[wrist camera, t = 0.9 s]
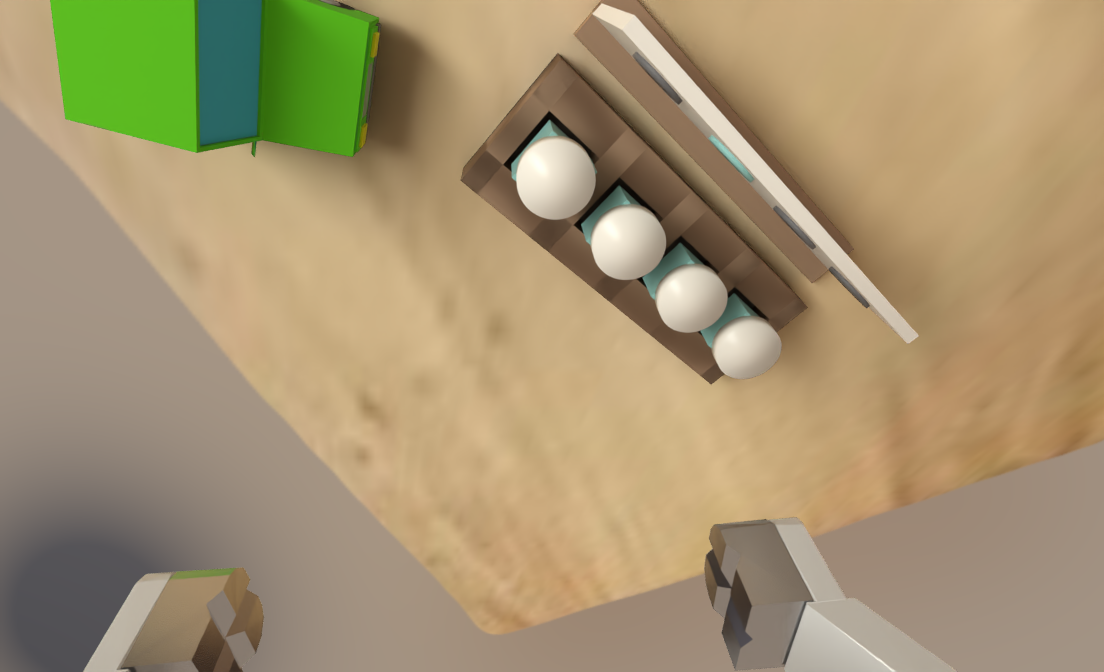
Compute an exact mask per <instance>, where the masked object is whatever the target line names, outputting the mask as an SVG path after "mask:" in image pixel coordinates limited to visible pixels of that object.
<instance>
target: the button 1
mask: <svg viewBox="0 0 1104 672" xmlns="http://www.w3.org/2000/svg"><path fill="white" fill-rule="evenodd" d="M511 165H512V178H513V179H514V180H515V181H516V182H517V190H518V193H519V196H520V198H521V200H522V202H523V203H524V205H525V206H526V207H527V208H528V209H529V210H530V211H531V212H533V213H534V214H536V215H538V216H540V217H542V218H546V219H552V220H559V219H565V218H568V217H571V216H573V215H575V214H577V213H578V212H579V211H581V210H582V209H583V208H584V207H585V206H586V205H587V204H588V202H589V201H590V199H591V197H592V195H593V192H594V189H595V182H596V177H595V174H596V173H597V170H596V168H595V166H594V164H593V161H592V159H591V158H590V157H589V156H588V154H587V152H586V151H585V149H584V148H583V147H582V146H581V145H580V144H579V143H577V142H576V141H574V140H572V139H570V138H569V137H568V136H566V135H565V134H564V133H563V132H562V131H561V130H560V129H559V128H558V127H557V126H556V125H555V124H554V123H553V122H552V121H551V120H549V121H548V122H547V123H546V125H545V126H544V127H543V128H542V129H541V130H540V132H539V133H538V134H537V135H536V136H535V137H534V138H533V140H532V141H531V142H530V143H529V144H528V145H527V147H526V148H525V149H524V150H523V151H522V152H521V154H520V155H519V156H518V157H517V158H516V159H515V161H514V162H513V163H512V164H511Z"/></svg>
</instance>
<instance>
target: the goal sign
mask: <svg viewBox="0 0 1104 672" xmlns="http://www.w3.org/2000/svg"><path fill="white" fill-rule="evenodd" d="M574 35H575V36H576V37H577V38H578V39H579V40H580V42H581V43H582V44H583V45H584V46H585V47H586V48H587V49H588V50H589V51H590V52H591V53H592V54H593V55H594V56H595V57H596V58H597V59H598V60H599V61H600V62H601V63H602V64H603V66H604V67H605V68H606V69H607V70H608V71H609V72H610V73H611V74H612V75H613V76H614V77H615V78H616V79H617V80H618V81H619V82H620V83H621V84H622V85H623V86H624V87H625V89H626V90H627V91H628V92H629V93H630V94H631V95H632V96H633V97H634V98H635V99H636V100H637V101H638V102H639V103H640V104H641V105H642V106H643V107H644V108H645V109H646V110H647V111H648V113H649V114H650V115H651V116H652V117H653V118H654V119H655V120H656V121H657V122H658V123H659V124H660V125H661V126H662V127H663V128H664V129H665V130H666V131H667V132H668V133H669V134H670V135H671V137H672V138H673V139H674V140H675V141H676V142H677V143H678V144H679V145H680V146H681V147H682V148H683V149H684V150H685V151H686V152H687V153H688V154H689V155H690V156H691V157H692V158H693V159H694V161H695V162H696V163H697V164H698V165H699V166H700V167H701V168H702V169H703V170H704V171H705V172H706V173H707V174H708V175H709V176H710V177H711V178H712V179H713V180H714V181H715V182H716V183H717V185H718V186H719V187H720V188H721V189H722V190H723V191H724V192H725V193H726V194H727V195H728V196H729V197H730V198H731V199H732V200H733V201H734V202H735V203H736V204H737V205H738V206H739V207H740V209H741V210H742V211H743V212H744V213H745V214H746V215H747V216H748V217H749V218H750V219H751V220H752V221H753V222H754V223H755V224H756V225H757V226H758V227H759V228H760V229H761V230H762V231H763V233H764V234H765V235H766V236H767V237H768V238H769V239H770V240H771V241H772V242H773V243H774V244H775V245H776V246H777V247H778V248H779V249H780V250H781V251H782V252H783V253H784V254H785V255H786V257H787V258H788V259H789V260H790V261H791V262H792V263H793V264H794V265H795V266H796V267H797V268H798V269H799V270H800V271H801V272H802V273H803V274H804V275H805V276H806V277H807V278H808V279H809V281H810V282H811V283H813V282H814V281H816V280H817V279H818V278H819V277H820V276H822V275H823V274H824V273H825V272H827V271H828V270H829V271H830V272H831V273H832V274H833V275H834V276H835V277H836V278H837V280H838V281H839V282H840V283H841V284H842V285H843V286H844V287H845V288H846V289H847V290H848V291H849V292H850V293H851V294H852V295H853V296H854V297H855V298H856V299H857V300H858V301H859V302H860V303H861V304H862V305H863V306H865V307H866V308H868V307H869V308H870V309H871V310H872V311H873V312H874V313H875V314H876V315H877V316H878V317H880V318H881V319H882V320H883V321H884V322H885V323H886V324H887V325H888V326H889V327H890V328H891V329H892V330H893V331H895V332H896V333H897V334H898V335H899V336H900V337H901V338H902V339H903V340H904V341H905V342H906V343H907V344H909V343H910V342H911V341H913V340H914V339H916V338H917V337H918V334H917V333H916V332H915V331H914V330H913V329H912V328H911V326H910V325H909V324H908V323H907V322H906V321H905V320H904V319H903V317H902V316H901V315H900V314H899V313H898V312H897V311H896V310H895V308H894V307H893V306H892V305H891V304H890V303H889V302H888V301H887V299H886V298H885V297H884V296H883V295H882V294H881V293H880V291H879V290H878V289H877V288H876V287H875V286H874V285H873V284H872V282H871V281H870V280H869V279H868V278H867V277H866V276H865V275H864V273H863V272H862V271H861V270H860V269H859V268H858V267H857V266H856V264H855V263H854V262H853V261H852V260H851V259H850V258H849V257H848V255H847V254H849V253H850V252H851V251H852V250H854V248H853V247H852V246H851V245H850V244H849V243H848V241H847V240H846V239H845V238H844V237H843V236H842V235H841V233H840V232H839V231H838V230H837V229H836V228H835V227H834V225H833V224H832V223H831V222H830V221H829V220H828V219H827V217H826V216H825V215H824V214H823V213H822V212H821V211H820V209H819V208H818V207H817V206H816V205H815V204H814V203H813V201H812V200H811V199H810V198H809V197H808V196H807V194H806V193H805V192H804V191H803V190H802V189H801V188H800V186H799V185H798V184H797V183H796V182H795V181H794V180H793V178H792V177H791V176H790V175H789V174H788V173H787V172H786V170H785V169H784V168H783V167H782V166H781V165H780V164H779V162H778V161H777V160H776V159H775V158H774V157H773V155H772V154H771V153H770V152H769V151H768V150H767V149H766V147H765V146H764V145H763V144H762V143H761V142H760V141H759V139H758V138H757V137H756V136H755V135H754V134H753V133H752V131H751V130H750V129H749V128H748V127H747V126H746V125H745V123H744V122H743V121H742V120H741V119H740V118H739V116H738V115H737V114H736V113H735V112H734V111H733V110H732V108H731V107H730V106H729V105H728V104H727V103H726V102H725V100H724V99H723V98H722V97H721V96H720V95H719V94H718V92H717V91H716V90H715V89H714V88H713V87H712V86H711V84H710V83H709V82H708V81H707V80H706V79H705V77H704V76H703V75H702V74H701V73H700V72H699V71H698V69H697V68H696V67H695V66H694V65H693V64H692V63H691V61H690V60H689V59H688V58H687V57H686V56H685V55H684V53H683V52H682V51H681V50H680V49H679V48H678V47H677V45H676V44H675V43H674V42H673V41H672V40H671V39H670V37H669V36H668V35H667V34H666V33H665V32H664V30H663V29H662V28H661V27H660V26H659V25H658V24H657V22H656V21H655V20H654V19H653V18H652V17H651V16H650V14H649V13H648V12H647V11H646V10H645V9H644V8H643V6H642V5H641V4H640V3H639V2H638V1H637V0H601V1H600V2H599V4H598V5H597V6H596V7H595V8H594V10H593V11H592V12H591V13H590V15H589V16H588V17H587V18H586V19H585V21H584V22H583V23H582V24H581V25H580V27H579V28H578V29H577V30H576V32H575V33H574Z"/></svg>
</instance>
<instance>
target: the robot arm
mask: <svg viewBox="0 0 1104 672" xmlns="http://www.w3.org/2000/svg"><path fill="white" fill-rule="evenodd" d="M709 540H710V543H711V545H712V548H713V549H712V550H711V551H710V552H709V553H708V554H707V555H706V559H705V567H704V569H705V581H706V586H707V590H708V595H709V598H710V601H711V604H712V607H713V609H714V610H715V611H716V612H718V613H719V614H720V615H721V616H722V617H724V618H725V619H724V624H723V629H722V635H723V638H724V641H725V643H726V646H727V649H728V652H729V655H730V657H731V660H732V663H733V666H734V668H735V670H749V669H762V668H775V667H784V670H785V671H786V672H958V671H956V670H955V669H953V668H952V667H951V666H949V665H948V664H946V663H945V662H944V661H942V660H941V659H939V658H938V657H937V656H935V655H934V654H933V653H931V652H930V651H928V650H927V649H925V648H924V647H923V646H921V645H920V644H919V643H917V642H916V641H914V640H913V639H912V638H910V637H909V636H907V635H906V634H905V633H903V632H902V631H901V630H899V629H898V628H896V627H895V626H894V625H892V624H891V623H889V622H888V621H887V620H885V619H884V618H883V617H881V616H880V615H878V614H877V613H875V612H874V611H872V610H871V609H870V608H868V607H867V606H866V605H864V604H863V603H861V602H860V601H859V600H857V599H856V598H846V597H845V595H844V593H843V591H842V590H841V588H840V586H839V584H838V583H837V581H836V579H835V578H834V576H833V574H832V572H831V571H830V569H829V567H828V566H827V564H826V562H825V560H824V559H823V557H822V555H821V553H820V552H819V550H818V548H817V547H816V545H815V543H814V541H813V540H812V538H811V536H810V535H809V533H808V531H807V529H806V528H805V526H804V524H803V523H802V521H800V520H799V519H798V518H797V517H793V518H782V519H771V520H766V519H764V520H754V521H744V522H735V523H725V524H715V525H713V527H712V528H711V531H710V536H709ZM249 581H250V578H249V576H248V575H247V573H246V571H245V570H244V568H229V569H212V570H196V571H180V572H167V573H154V574H146V575H145V576H144V577H143V578H142V579H140V580H139V581H138V582H137V583H136V584H135V586H134V587H133V589H132V591H131V592H130V594H129V596H128V597H127V599H126V601H125V603H124V604H123V606H122V607H121V609H120V611H119V613H118V614H117V616H116V617H115V619H114V621H113V622H112V624H111V626H110V627H109V629H108V631H107V633H106V634H105V636H104V638H103V639H102V641H101V643H100V644H99V646H98V648H97V649H96V651H95V653H94V654H93V656H92V658H91V659H90V661H89V663H88V664H87V666H86V668H85V669H84V671H83V672H243V670H242V667H243V666H244V665H245V664H246V663H247V662H248V661H249V659H251V658H252V657H253V656H254V655H255V654H256V651H257V648H258V645H259V642H260V639H261V636H262V628H263V619H264V616H263V609H262V604H261V602H260V599H259V597H258V596H257V595H255V594H254V593H252V592H250V591H248V590H247V586H248V584H249Z"/></svg>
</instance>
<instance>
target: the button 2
mask: <svg viewBox="0 0 1104 672" xmlns="http://www.w3.org/2000/svg"><path fill="white" fill-rule="evenodd" d="M581 226H582V229H583V233H584V236H585V239H586V242H588V243H589V244H590V245H591V249H592V252H593V256H594V259H595V261H596V263H597V265H598V267H599V268H600V269H601V270H602V271H603V272H604V273H605V274H607V275H608V276H610V277H613V278H615V279H620V280H631V279H636V278H639V277H642V276H644V275H646V274H648V273H649V272H651V271H652V270H653V269H654V268H655V267H656V266H657V265H658V264H659V262H660V261H661V259H662V257H663V255H664V252H665V249H666V236H665V233H664V230H663V228H662V226H661V224H660V223H659V221H658V219H657V218H656V216H655V215H654V214H653V213H652V212H651V211H650V210H648V209H646V208H645V207H642V206H641V205H640V204H639V203H638V202H637V201H636V200H635V199H634V198H632V197H631V196H630V195H629V194H628V193H627V192H626V191H625V190H624V189H623V188H622V187H621V186H620V185H619V186H618V187H617V188H616V189H615V190H614V191H613V192H612V193H611V194H610V195H609V196H608V197H607V198H606V199H605V200H604V201H603V202H602V203H601V204H600V206H599V207H598V208H597V209H596V210H595V211H594V212H593V213H592V214H591V215H590V216H589V217H588V218H587V219H586V220H585V221H584V222H583V223H582V224H581Z"/></svg>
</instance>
